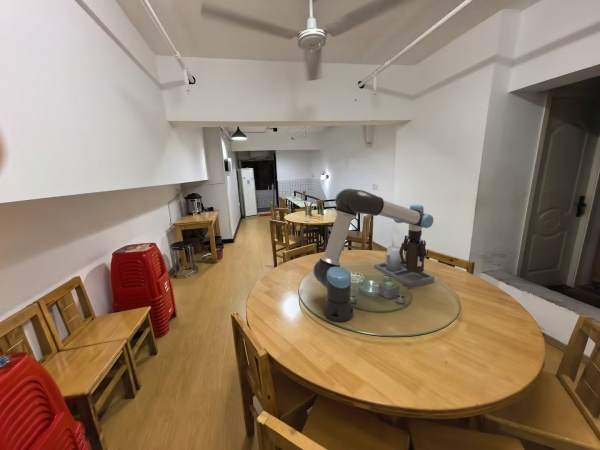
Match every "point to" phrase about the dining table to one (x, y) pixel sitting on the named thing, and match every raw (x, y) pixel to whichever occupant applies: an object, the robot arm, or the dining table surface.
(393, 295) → the grey square hollow block
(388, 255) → the white piece
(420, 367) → the dining table surface
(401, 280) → the tray
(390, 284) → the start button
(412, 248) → the beer stein
